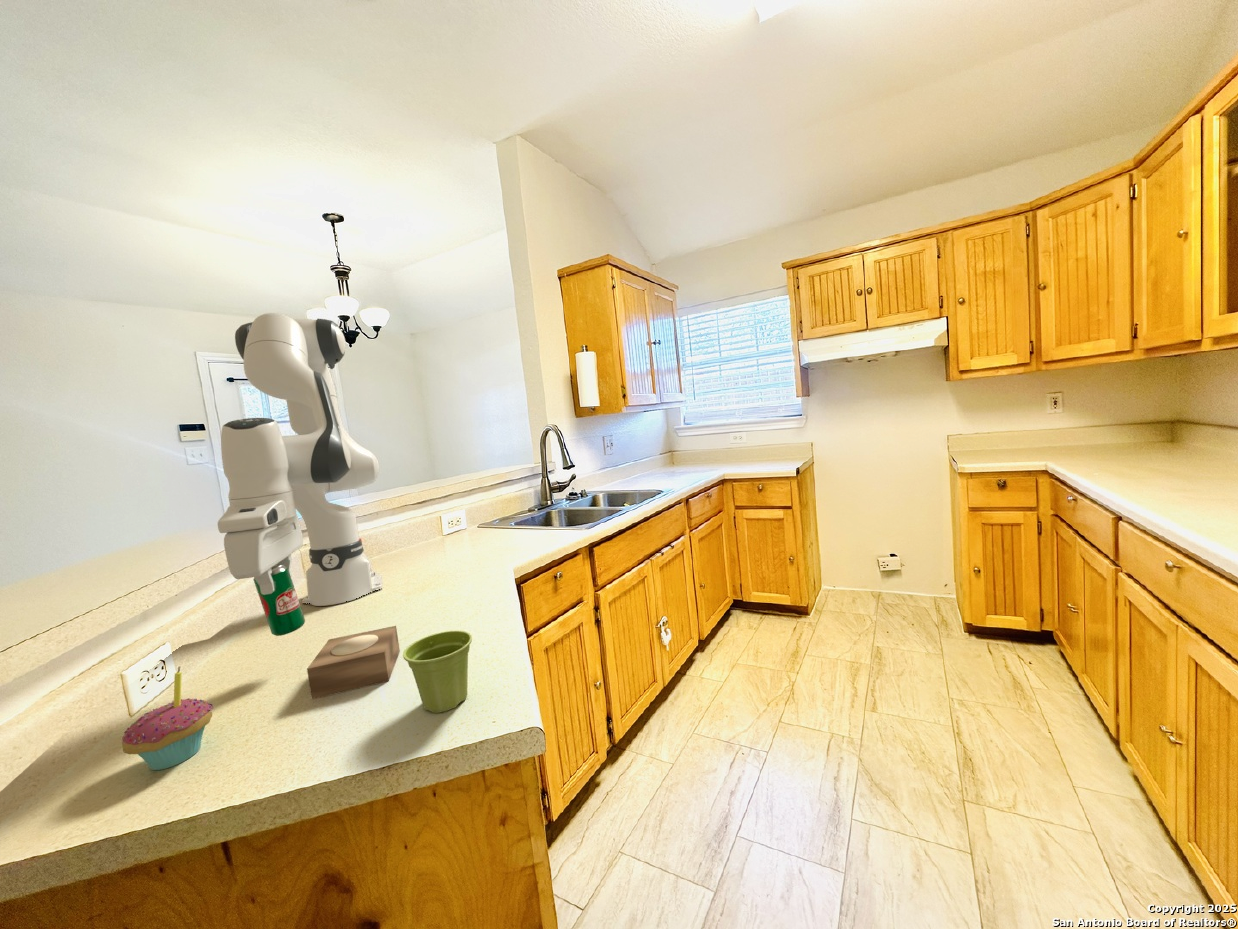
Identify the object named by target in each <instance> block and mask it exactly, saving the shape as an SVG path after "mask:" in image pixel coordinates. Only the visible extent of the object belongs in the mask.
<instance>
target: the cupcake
mask: <svg viewBox="0 0 1238 929" xmlns="http://www.w3.org/2000/svg"><path fill="white" fill-rule="evenodd" d="M181 667H182V666H180V665H179V666H178V668H177V672H175V673H174V682H173V683H174V686H173V687H174V689H173V700H172V702H168V703H167V704H164V705H160V706H159V707H156V708H154V709H152V710H150V711H149V712H147V713H146V712H145V713H144V714H143V715H141V716H140V717H139V718H137V720H135V721H134V722H133V723H131V724H130V725H129V727H127V728H126V730H125V731H124V732H123V733H124V734H123V737H122V739H121V740H122V743H121V744H122V752H123V753H124V754H127V755H137V756H139V757H141V759H142V760H143V761H144V762H145V763H146V764H147V766H148V767H149V768H150V769H151V770H152V771H161V770H165V769H169V768H172V767H174V766H177V765H180V764H182V763H183V762H185V761H187V760H189V759H190V758H191V757H193V756H195V755H196V754H197V753H198V752H199V750H201V749H200V748H201V745H202V739H203V734H204V730H205V729H206V728H205V727H206V726H207V725H209V723H210V722H211V719H212V717H213V711H212V710H213V709H214V704H212V703H210V702H209V701H205V700H203V699H198V698H185V699H183V698H182V674H183V673H182V671H181Z"/></svg>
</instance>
